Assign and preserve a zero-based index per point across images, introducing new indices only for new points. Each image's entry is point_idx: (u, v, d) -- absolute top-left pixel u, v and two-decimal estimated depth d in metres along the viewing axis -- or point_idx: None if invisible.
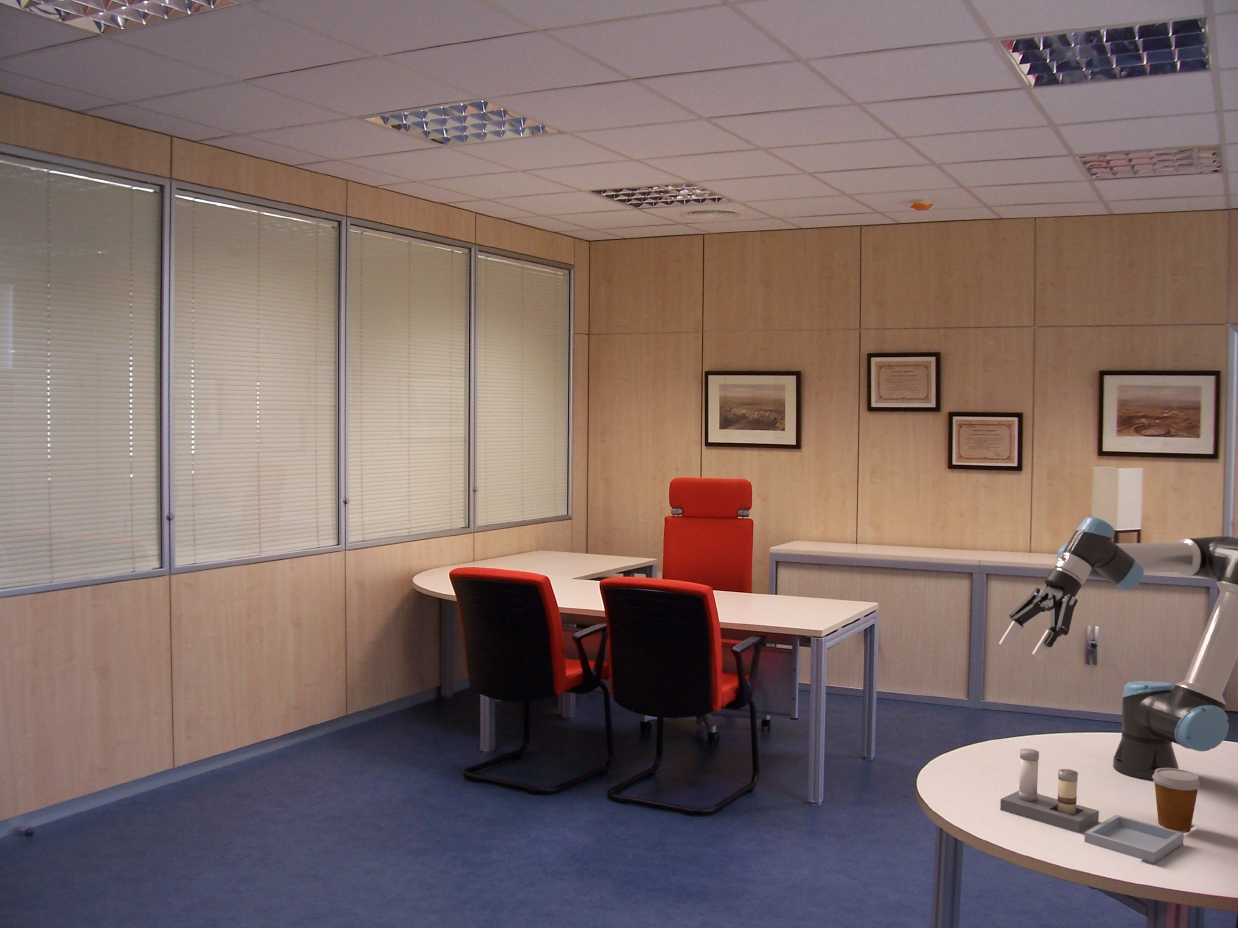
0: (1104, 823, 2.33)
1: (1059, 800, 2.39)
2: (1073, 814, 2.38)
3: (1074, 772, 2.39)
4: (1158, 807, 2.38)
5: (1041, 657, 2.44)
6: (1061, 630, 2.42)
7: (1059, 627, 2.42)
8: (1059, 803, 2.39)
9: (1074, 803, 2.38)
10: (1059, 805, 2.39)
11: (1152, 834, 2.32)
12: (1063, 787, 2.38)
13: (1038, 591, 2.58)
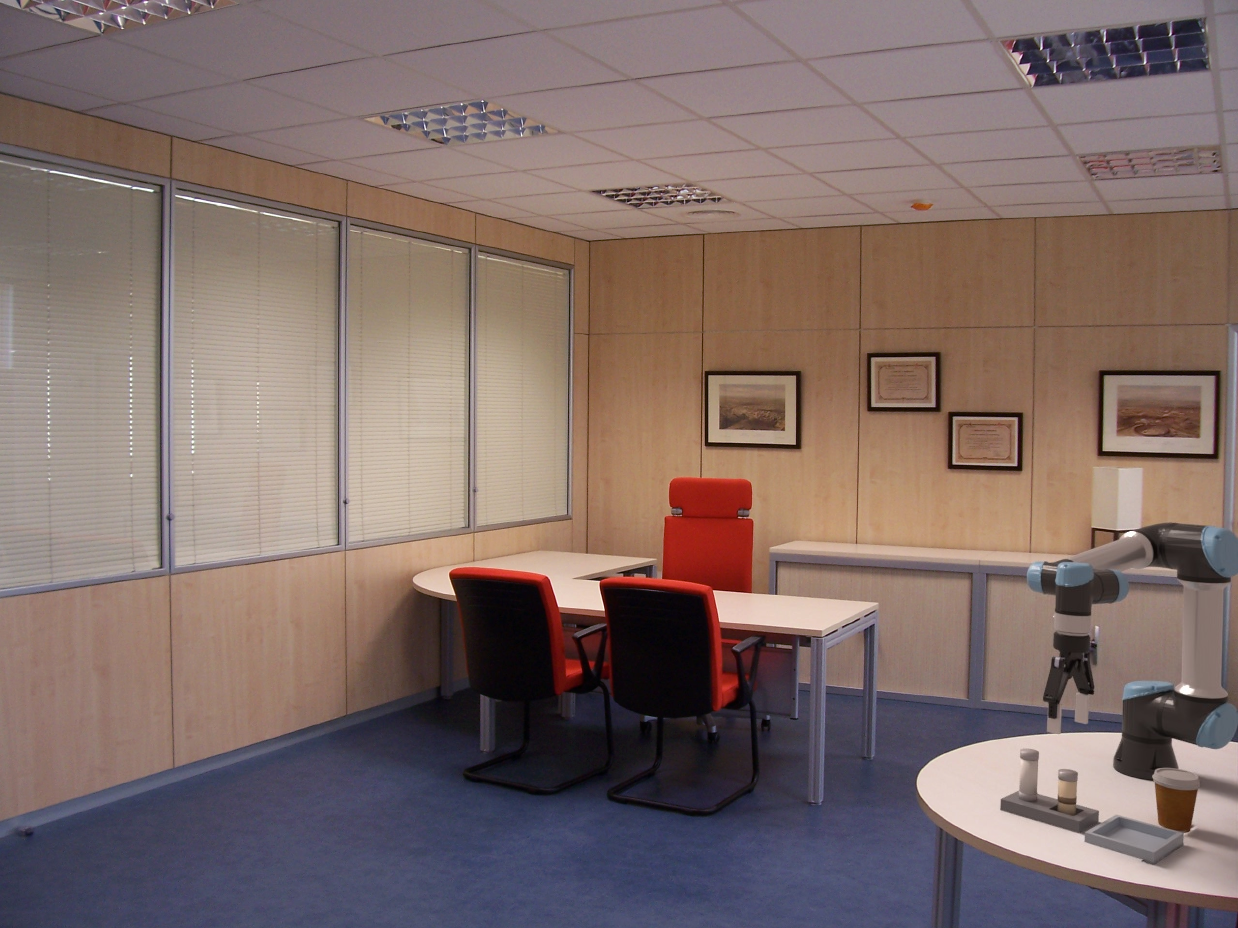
0: (1104, 823, 2.33)
1: (1059, 800, 2.39)
2: (1073, 814, 2.38)
3: (1074, 772, 2.39)
4: (1158, 807, 2.38)
5: (1056, 731, 2.34)
6: (1045, 699, 2.33)
7: (1043, 697, 2.33)
8: (1059, 803, 2.39)
9: (1074, 803, 2.38)
10: (1059, 805, 2.39)
11: (1152, 834, 2.32)
12: (1063, 787, 2.38)
13: None
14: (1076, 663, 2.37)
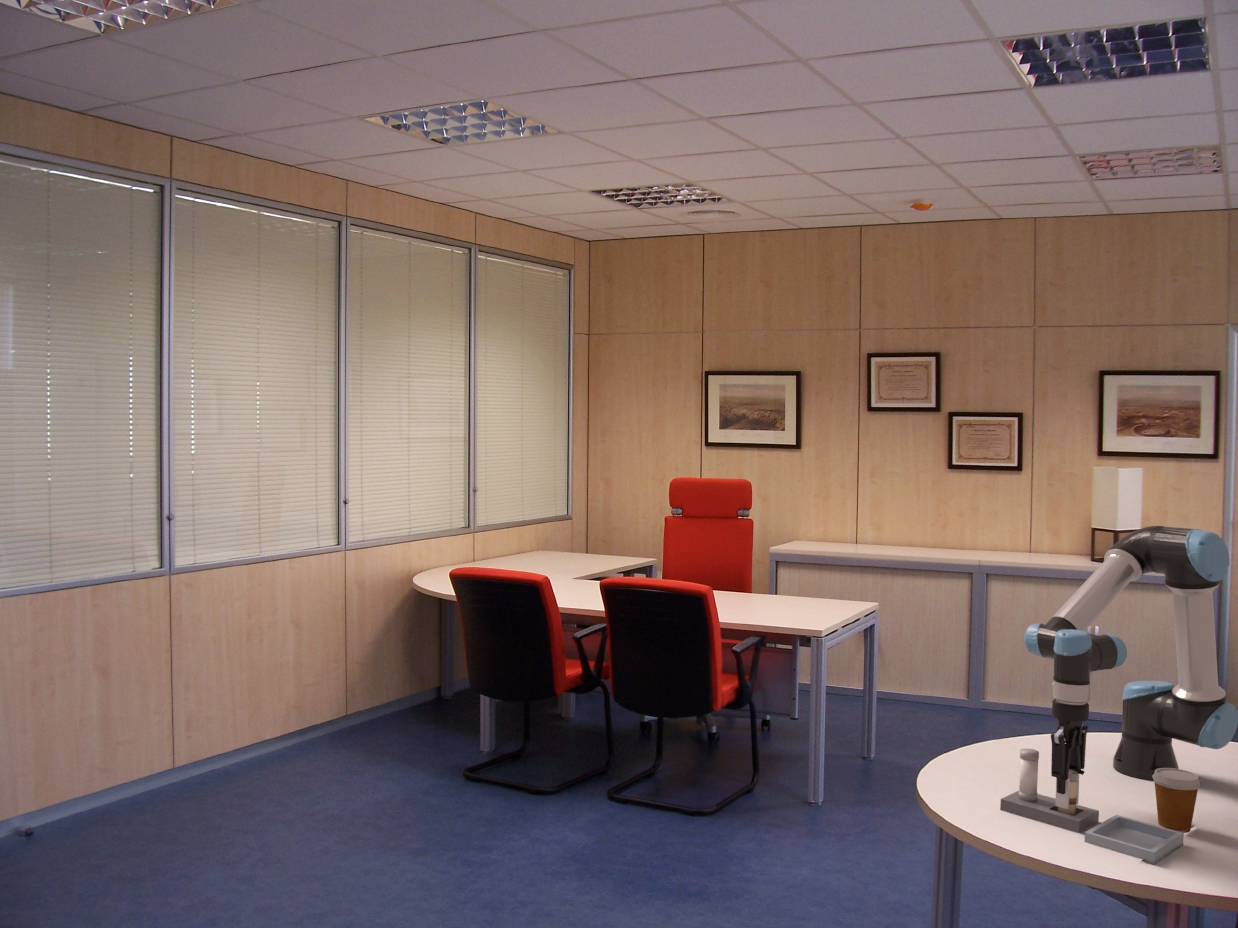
0: (1104, 823, 2.33)
1: None
2: (1073, 814, 2.38)
3: (1074, 772, 2.39)
4: (1158, 807, 2.38)
5: (1064, 806, 2.37)
6: (1054, 775, 2.36)
7: None
8: None
9: (1074, 803, 2.38)
10: None
11: (1152, 834, 2.32)
12: None
13: None
14: (1075, 732, 2.37)
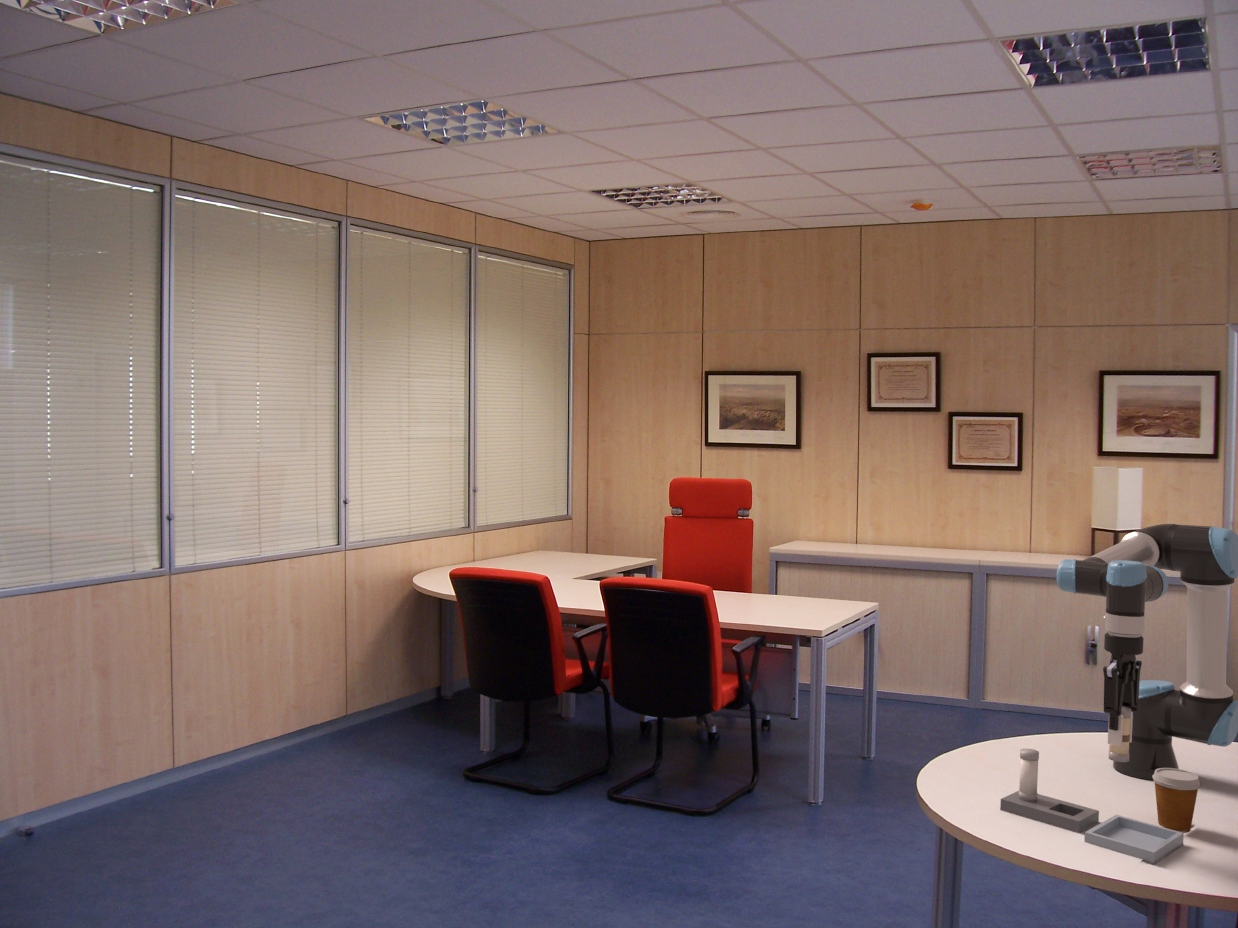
0: (1104, 823, 2.33)
1: None
2: (1126, 752, 2.29)
3: (1127, 708, 2.30)
4: (1158, 807, 2.38)
5: (1117, 743, 2.28)
6: (1106, 711, 2.27)
7: (1104, 709, 2.27)
8: None
9: (1127, 740, 2.28)
10: None
11: (1152, 834, 2.32)
12: None
13: None
14: (1129, 666, 2.27)
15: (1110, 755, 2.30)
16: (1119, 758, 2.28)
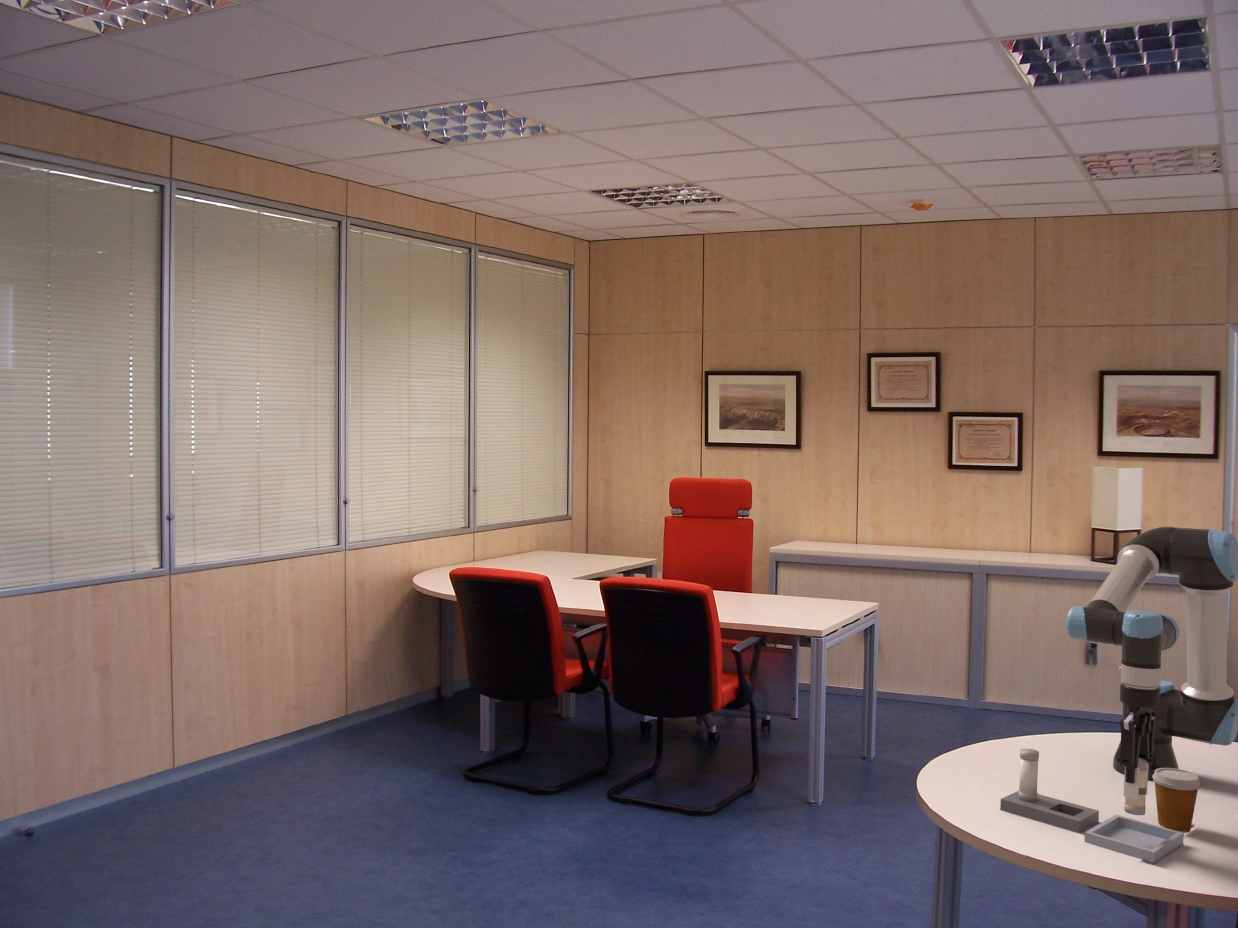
0: (1104, 823, 2.33)
1: None
2: (1142, 805, 2.26)
3: (1143, 761, 2.27)
4: (1158, 807, 2.38)
5: (1134, 796, 2.25)
6: (1123, 764, 2.24)
7: None
8: None
9: (1144, 793, 2.26)
10: None
11: (1152, 834, 2.32)
12: None
13: None
14: (1145, 718, 2.25)
15: (1126, 808, 2.27)
16: (1136, 811, 2.26)
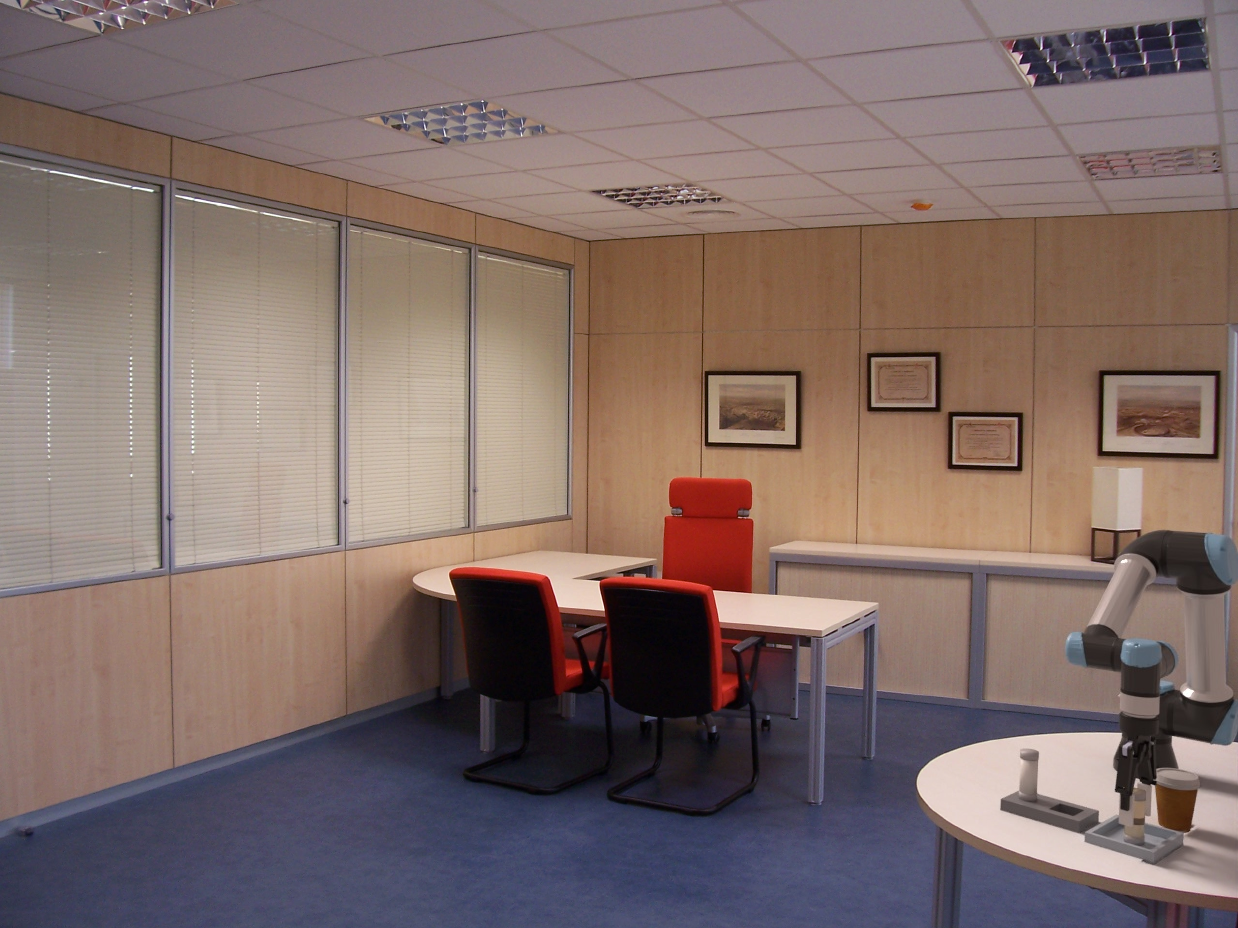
0: (1104, 823, 2.33)
1: None
2: (1142, 835, 2.27)
3: (1142, 791, 2.28)
4: (1158, 807, 2.38)
5: (1128, 823, 2.24)
6: (1118, 791, 2.23)
7: (1115, 789, 2.23)
8: None
9: (1143, 823, 2.26)
10: None
11: (1152, 834, 2.32)
12: None
13: None
14: (1144, 746, 2.25)
15: (1125, 838, 2.28)
16: (1135, 841, 2.26)
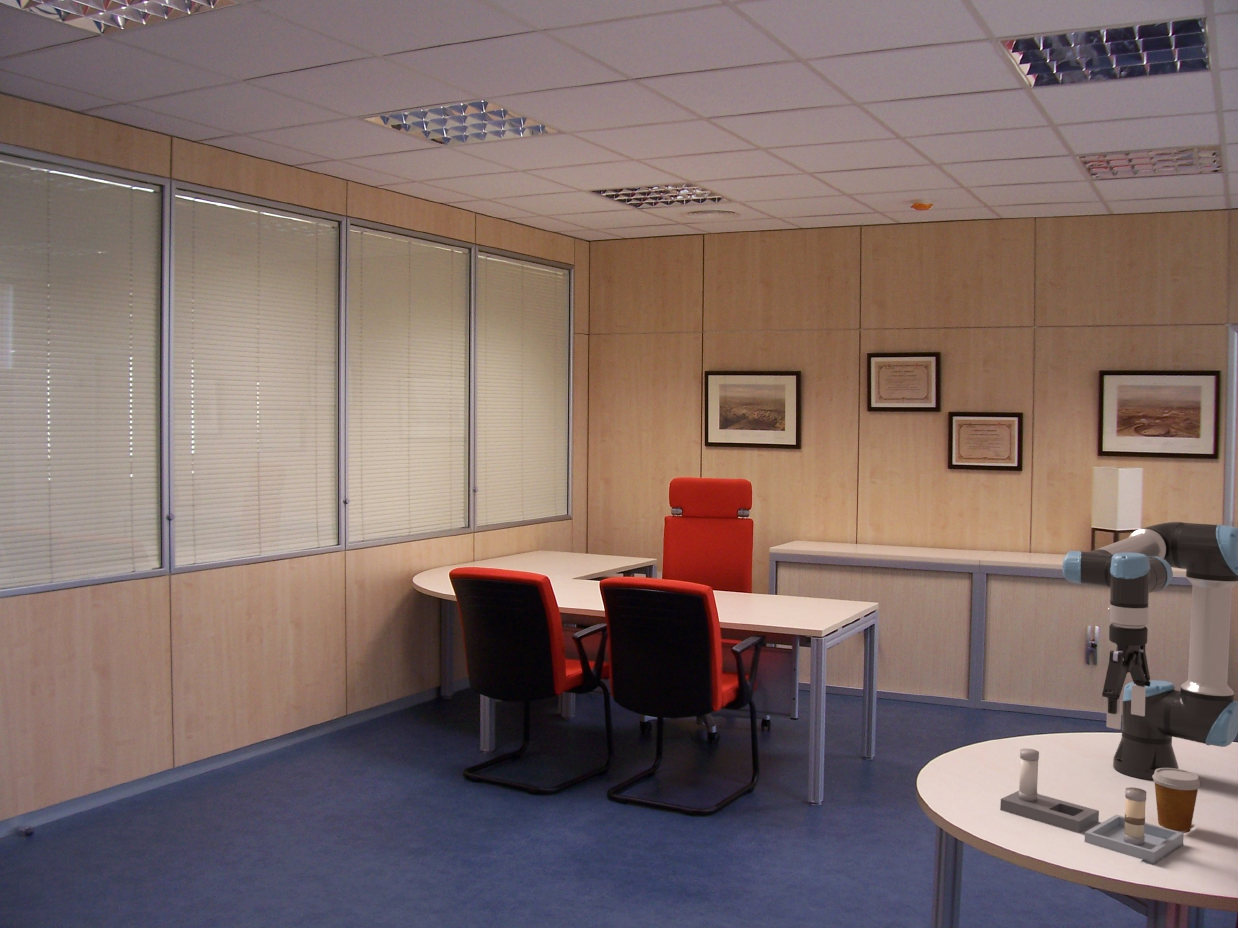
0: (1104, 823, 2.33)
1: (1127, 820, 2.28)
2: (1142, 835, 2.27)
3: (1142, 791, 2.27)
4: (1158, 807, 2.38)
5: (1116, 726, 2.29)
6: (1105, 695, 2.28)
7: (1102, 693, 2.28)
8: (1126, 823, 2.28)
9: (1143, 823, 2.26)
10: (1127, 825, 2.28)
11: (1152, 834, 2.32)
12: (1131, 807, 2.27)
13: None
14: (1134, 656, 2.31)
15: (1125, 838, 2.28)
16: (1135, 841, 2.26)
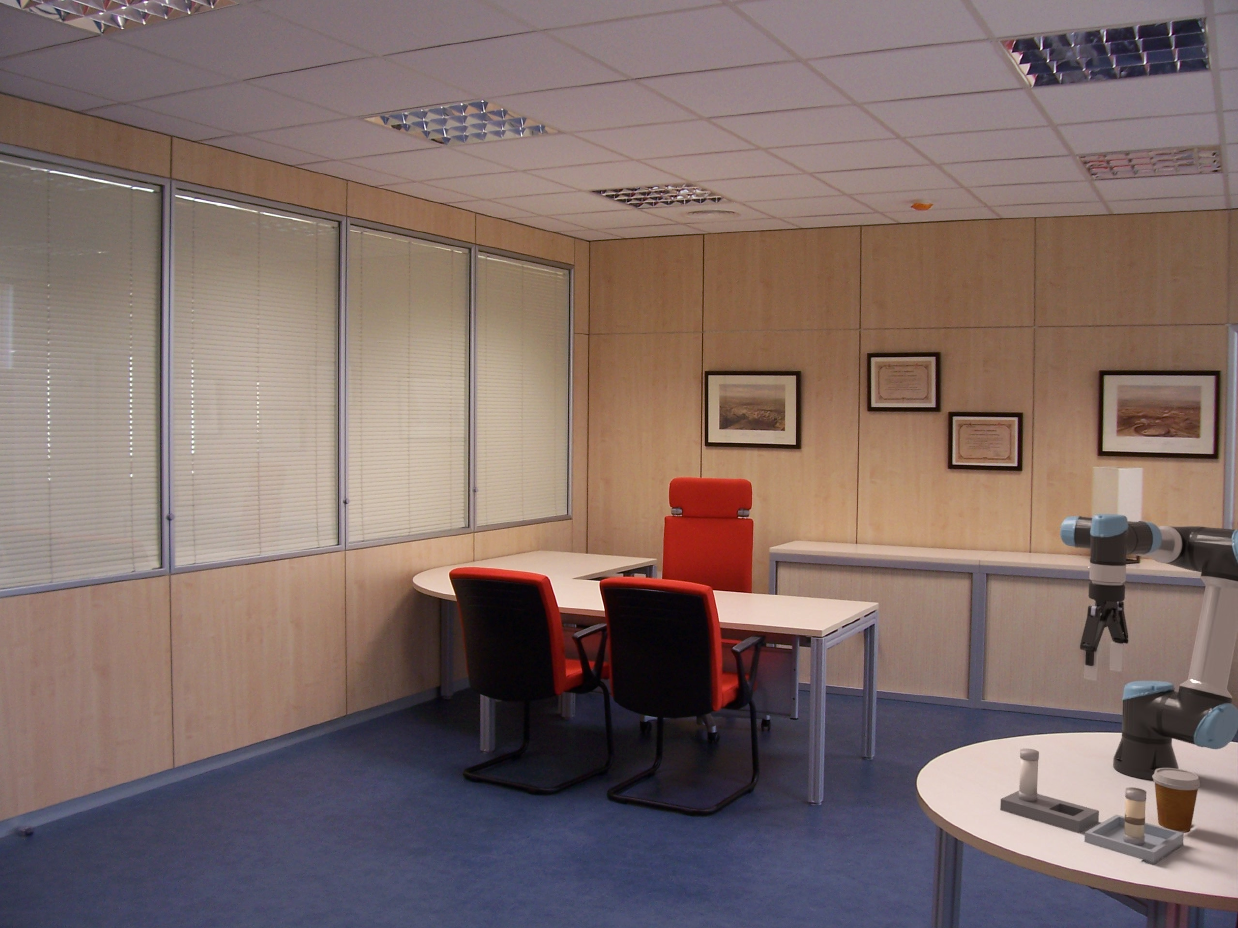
0: (1104, 823, 2.33)
1: (1127, 820, 2.28)
2: (1142, 835, 2.27)
3: (1142, 791, 2.27)
4: (1158, 807, 2.38)
5: (1093, 678, 2.40)
6: (1082, 647, 2.39)
7: (1080, 645, 2.39)
8: (1126, 823, 2.28)
9: (1143, 823, 2.26)
10: (1127, 825, 2.28)
11: (1152, 834, 2.32)
12: (1131, 807, 2.27)
13: None
14: (1112, 612, 2.42)
15: (1125, 838, 2.28)
16: (1135, 841, 2.26)
